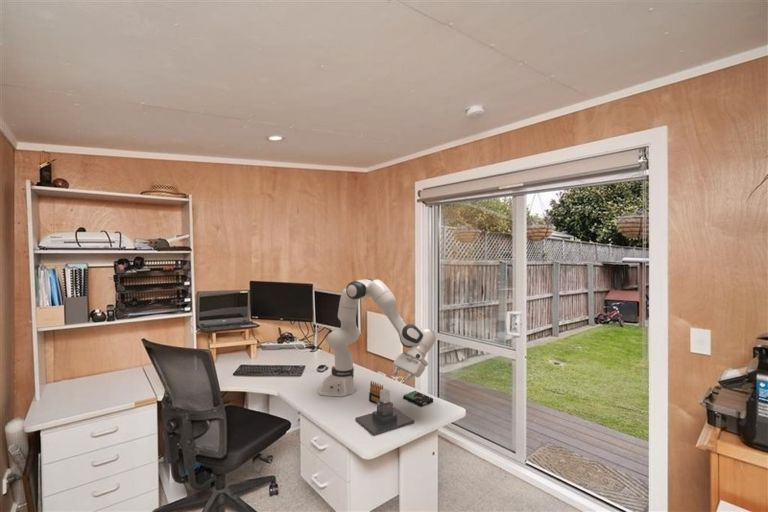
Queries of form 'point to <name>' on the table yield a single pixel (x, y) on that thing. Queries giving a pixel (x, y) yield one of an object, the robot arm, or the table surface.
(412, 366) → the robot arm
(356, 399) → the table surface
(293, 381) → the table surface
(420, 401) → the disk drive
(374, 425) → the metal stepped base
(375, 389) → the ammunition clip
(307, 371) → the table surface
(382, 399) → the column
